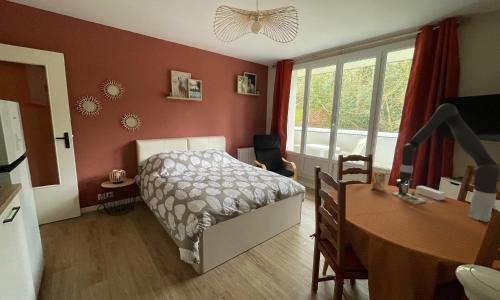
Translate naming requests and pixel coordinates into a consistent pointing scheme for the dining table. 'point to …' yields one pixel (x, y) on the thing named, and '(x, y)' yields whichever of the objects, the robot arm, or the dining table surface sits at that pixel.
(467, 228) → the dining table surface
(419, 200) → the cream peg board
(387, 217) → the dining table surface
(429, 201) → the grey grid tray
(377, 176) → the candy box
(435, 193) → the grey housing
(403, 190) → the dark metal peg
